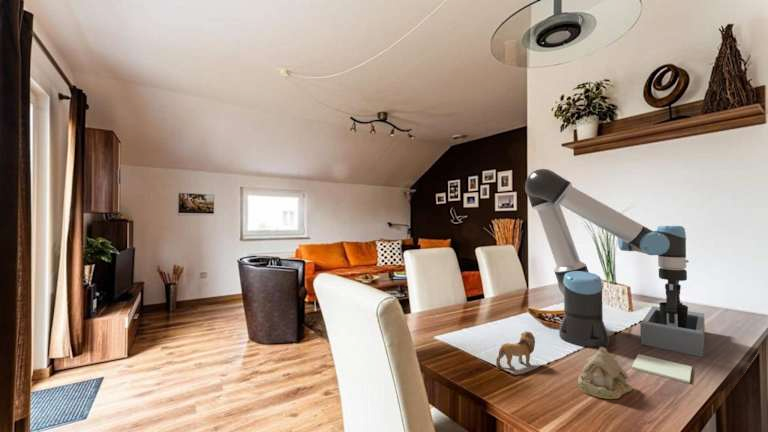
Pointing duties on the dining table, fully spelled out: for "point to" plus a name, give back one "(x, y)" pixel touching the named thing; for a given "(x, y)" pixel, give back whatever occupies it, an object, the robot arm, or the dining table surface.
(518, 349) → the lion figurine
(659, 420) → the dining table surface
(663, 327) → the slot box
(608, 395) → the ceramic model
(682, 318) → the cup
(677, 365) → the mat
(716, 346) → the dining table surface
